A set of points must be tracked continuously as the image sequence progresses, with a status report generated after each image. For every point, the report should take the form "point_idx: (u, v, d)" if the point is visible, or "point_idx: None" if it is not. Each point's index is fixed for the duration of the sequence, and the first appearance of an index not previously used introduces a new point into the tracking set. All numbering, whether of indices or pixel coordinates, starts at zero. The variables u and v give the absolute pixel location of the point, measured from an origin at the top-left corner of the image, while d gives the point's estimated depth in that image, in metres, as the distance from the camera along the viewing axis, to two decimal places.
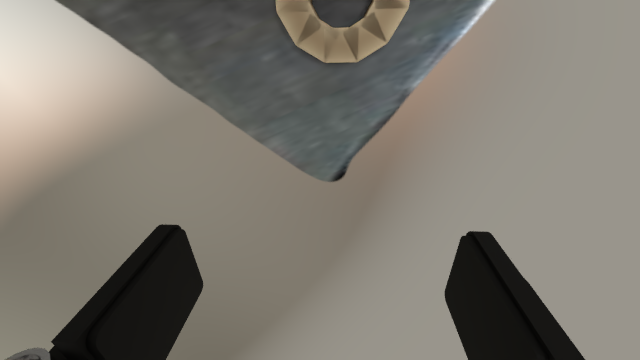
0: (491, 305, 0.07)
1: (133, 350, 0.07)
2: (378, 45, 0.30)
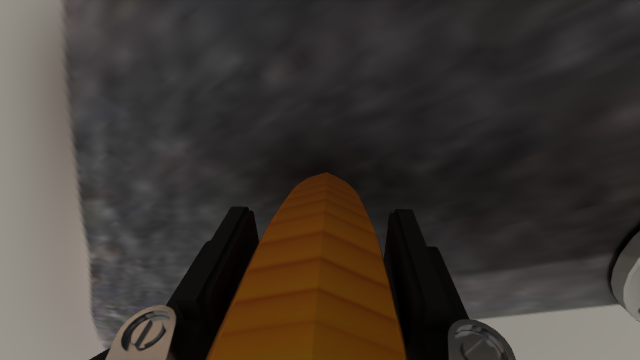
0: (399, 268, 0.08)
1: None
2: None
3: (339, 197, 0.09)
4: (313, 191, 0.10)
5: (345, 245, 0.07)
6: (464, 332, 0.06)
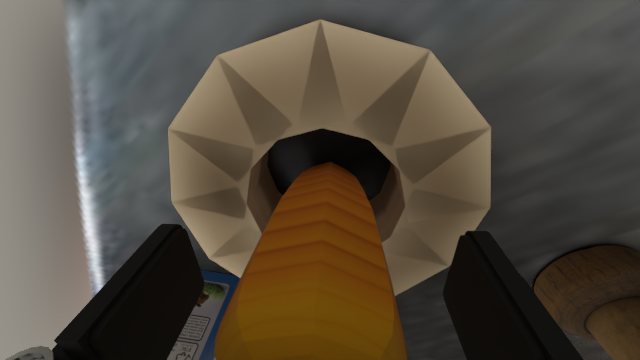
0: (489, 304, 0.07)
1: (135, 349, 0.07)
2: (186, 117, 0.11)
3: (341, 179, 0.11)
4: (318, 174, 0.11)
5: (345, 214, 0.08)
6: None
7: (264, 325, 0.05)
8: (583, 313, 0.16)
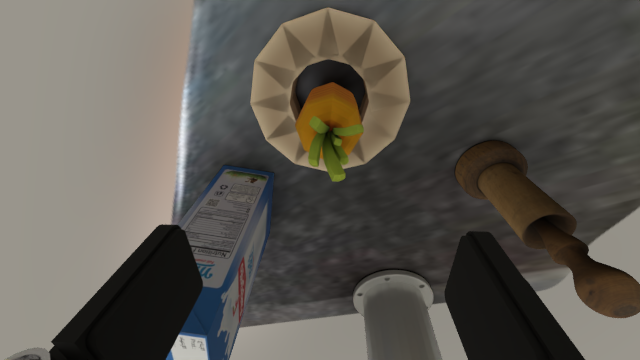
0: (491, 305, 0.07)
1: (133, 350, 0.07)
2: (264, 54, 0.23)
3: None
4: None
5: (340, 89, 0.20)
6: None
7: (316, 106, 0.18)
8: (474, 177, 0.29)
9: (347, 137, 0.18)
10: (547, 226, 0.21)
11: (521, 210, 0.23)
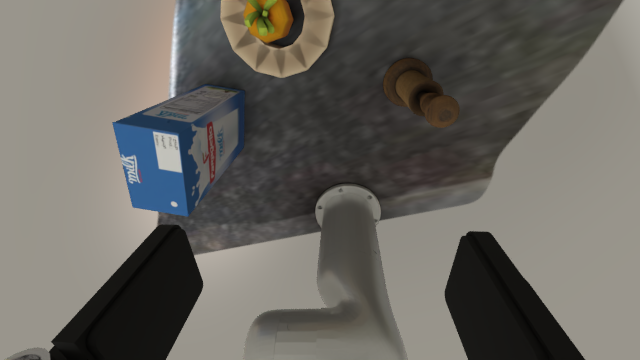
0: (491, 305, 0.07)
1: (133, 350, 0.07)
2: None
3: None
4: None
5: None
6: None
7: None
8: (392, 83, 0.38)
9: (275, 18, 0.28)
10: (423, 93, 0.30)
11: (409, 87, 0.32)
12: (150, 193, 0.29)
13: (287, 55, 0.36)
